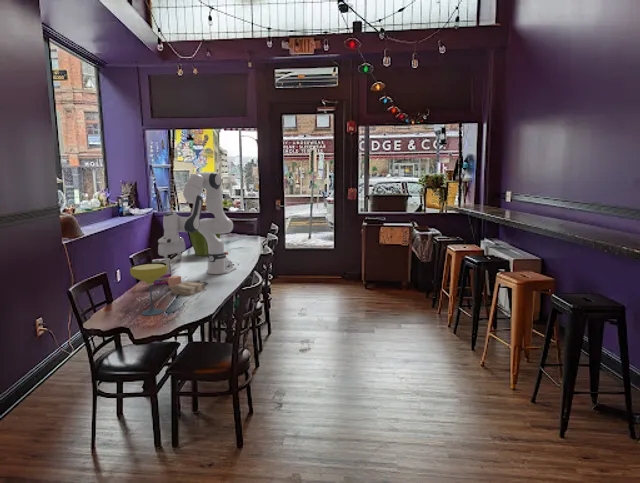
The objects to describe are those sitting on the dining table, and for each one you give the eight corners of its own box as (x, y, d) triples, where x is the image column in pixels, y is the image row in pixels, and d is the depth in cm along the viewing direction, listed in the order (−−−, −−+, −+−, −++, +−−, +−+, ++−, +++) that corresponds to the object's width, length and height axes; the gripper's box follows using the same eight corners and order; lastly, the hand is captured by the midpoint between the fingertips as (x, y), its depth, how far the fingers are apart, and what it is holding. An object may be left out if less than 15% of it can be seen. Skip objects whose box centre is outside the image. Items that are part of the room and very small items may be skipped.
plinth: (187, 287, 284) (186, 280, 284) (204, 289, 278) (204, 282, 278) (171, 293, 272) (170, 286, 271) (189, 295, 266) (189, 288, 265)
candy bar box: (172, 282, 298) (170, 257, 295) (171, 284, 293) (170, 259, 290) (154, 283, 295) (152, 259, 292) (153, 285, 290) (151, 260, 287)
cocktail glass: (174, 306, 245) (171, 261, 241) (164, 317, 227) (160, 269, 223) (141, 307, 245) (137, 262, 241) (128, 318, 227) (124, 270, 223)
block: (174, 286, 288) (174, 275, 287) (181, 286, 286) (180, 276, 285) (168, 288, 283) (167, 277, 282) (175, 289, 281) (174, 278, 280)
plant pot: (188, 252, 402) (186, 220, 397) (222, 249, 411) (220, 218, 406) (189, 258, 374) (186, 224, 369) (225, 255, 383) (223, 222, 378)
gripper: (179, 236, 290) (180, 257, 292) (155, 240, 272) (157, 263, 274) (187, 236, 287) (188, 258, 289) (163, 241, 269) (165, 263, 271)
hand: (173, 260), depth 281 cm, fingers open, 8 cm apart
